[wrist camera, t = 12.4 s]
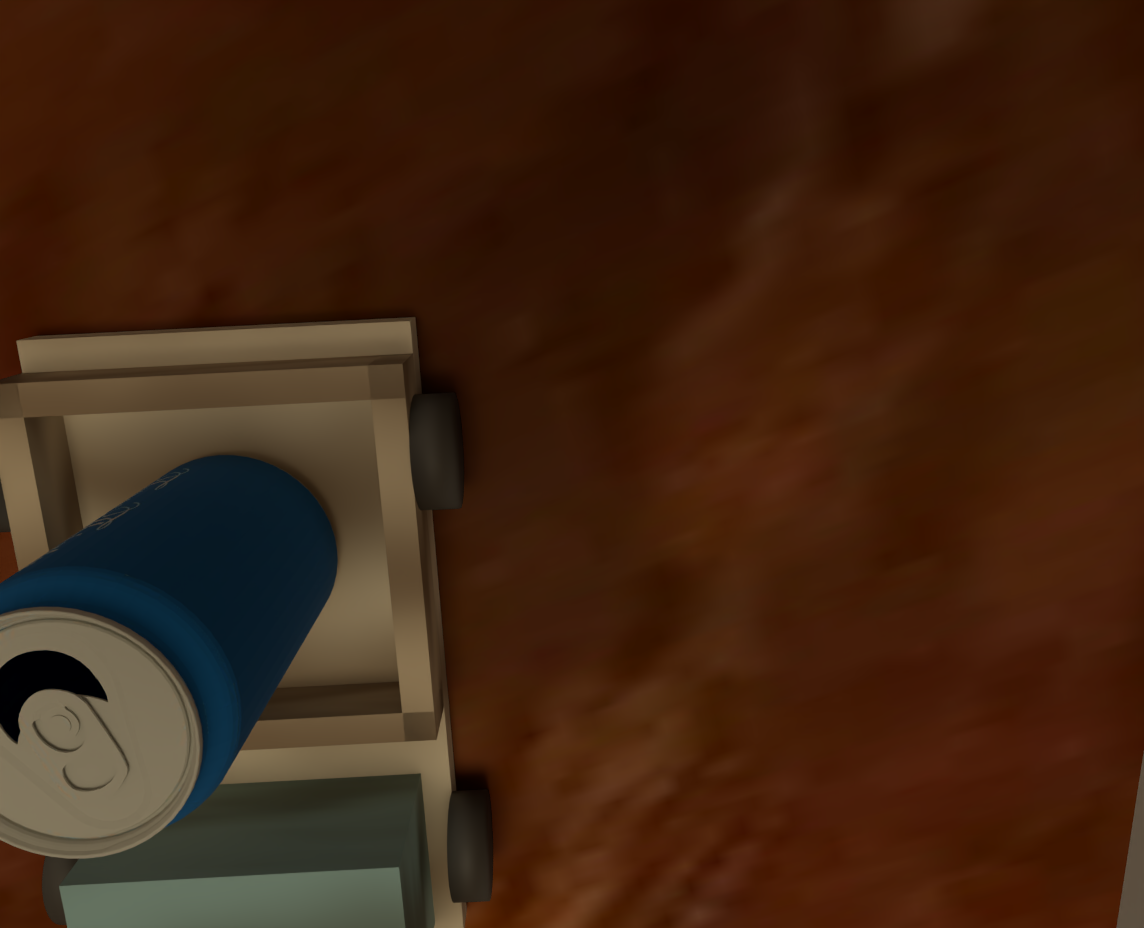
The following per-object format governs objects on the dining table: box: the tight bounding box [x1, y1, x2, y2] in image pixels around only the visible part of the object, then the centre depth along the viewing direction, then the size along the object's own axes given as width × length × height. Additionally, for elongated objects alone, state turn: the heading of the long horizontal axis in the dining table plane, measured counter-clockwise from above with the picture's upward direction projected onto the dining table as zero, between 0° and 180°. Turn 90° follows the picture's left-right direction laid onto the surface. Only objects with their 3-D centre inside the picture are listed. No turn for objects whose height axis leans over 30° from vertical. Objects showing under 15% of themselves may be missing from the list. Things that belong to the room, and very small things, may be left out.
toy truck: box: [0, 317, 493, 928], centre depth 31 cm, size 22×14×6 cm, turn 3°
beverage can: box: [0, 455, 338, 859], centre depth 26 cm, size 6×6×12 cm
